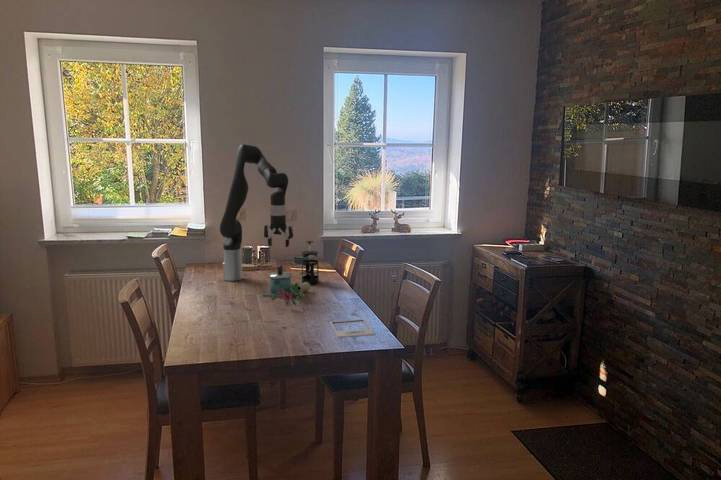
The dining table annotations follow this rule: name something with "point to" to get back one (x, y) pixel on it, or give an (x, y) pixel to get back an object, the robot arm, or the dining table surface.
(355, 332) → the photo frame
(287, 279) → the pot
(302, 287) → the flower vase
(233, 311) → the dining table surface
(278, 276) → the lid
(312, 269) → the french press
